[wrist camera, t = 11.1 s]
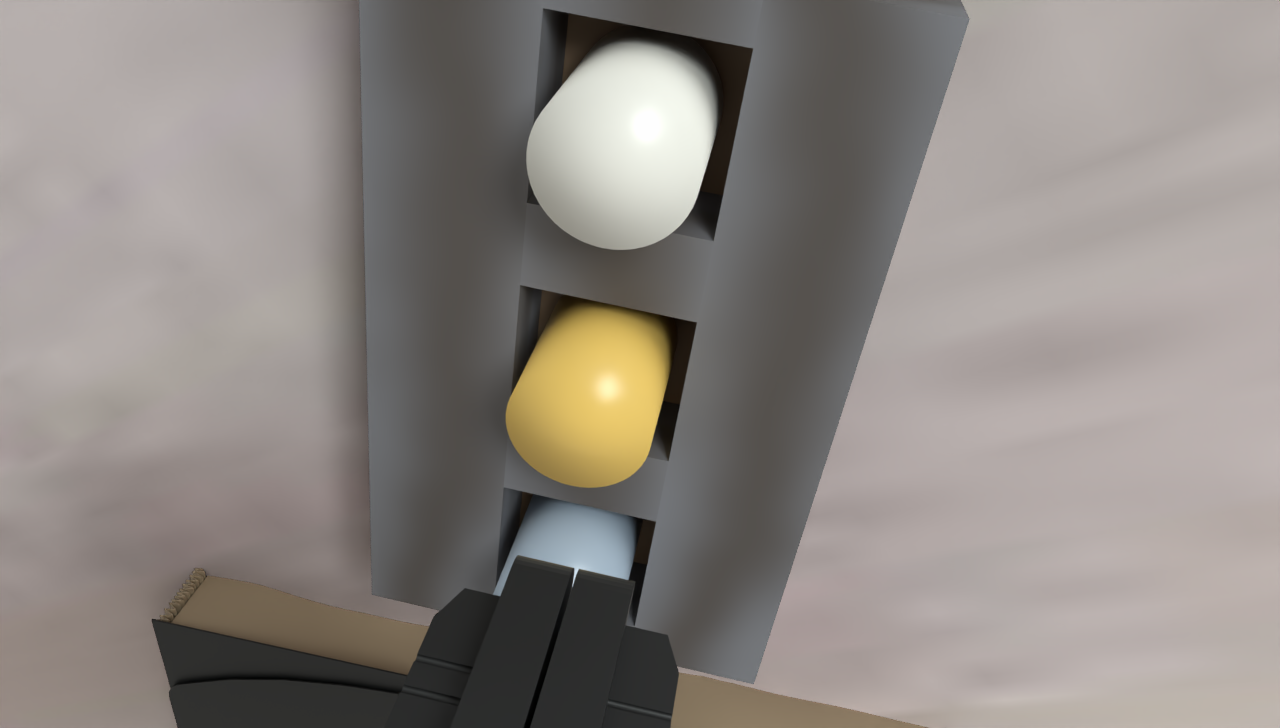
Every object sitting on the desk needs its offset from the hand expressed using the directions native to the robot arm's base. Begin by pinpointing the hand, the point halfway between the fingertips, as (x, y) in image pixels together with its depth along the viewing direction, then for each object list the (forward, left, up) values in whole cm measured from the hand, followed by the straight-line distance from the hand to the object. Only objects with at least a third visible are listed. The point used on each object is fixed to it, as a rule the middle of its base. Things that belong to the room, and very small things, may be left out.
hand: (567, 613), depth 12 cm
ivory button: (-2, +1, -17) cm, 17 cm away
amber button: (-2, -7, -17) cm, 18 cm away
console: (-2, -7, -19) cm, 20 cm away
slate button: (-2, -14, -17) cm, 22 cm away
